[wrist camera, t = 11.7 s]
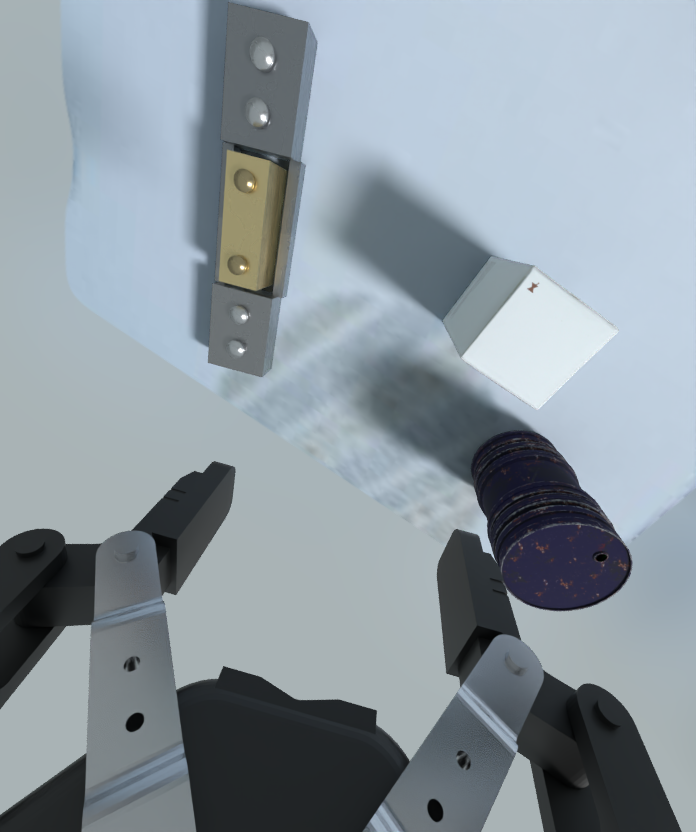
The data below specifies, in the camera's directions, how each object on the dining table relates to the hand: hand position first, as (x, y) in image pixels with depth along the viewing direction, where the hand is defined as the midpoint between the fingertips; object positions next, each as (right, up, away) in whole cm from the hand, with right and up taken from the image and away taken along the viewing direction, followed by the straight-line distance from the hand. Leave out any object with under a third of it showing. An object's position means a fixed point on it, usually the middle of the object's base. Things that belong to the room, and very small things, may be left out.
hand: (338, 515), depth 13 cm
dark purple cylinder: (+20, -2, +30) cm, 36 cm away
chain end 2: (-10, +16, +25) cm, 31 cm away
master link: (-8, +22, +22) cm, 32 cm away
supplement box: (+15, +14, +23) cm, 30 cm away
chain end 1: (-6, +28, +19) cm, 34 cm away
